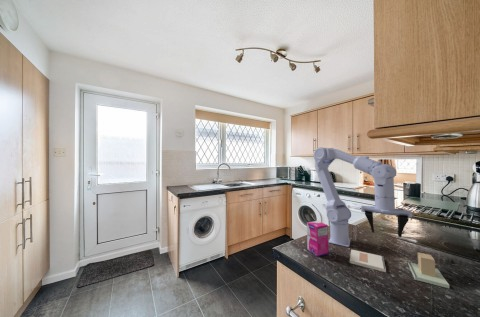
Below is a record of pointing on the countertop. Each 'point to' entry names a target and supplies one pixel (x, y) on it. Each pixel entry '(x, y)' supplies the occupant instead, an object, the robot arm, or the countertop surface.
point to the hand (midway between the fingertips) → (385, 233)
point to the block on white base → (427, 271)
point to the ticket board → (367, 260)
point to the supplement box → (317, 238)
